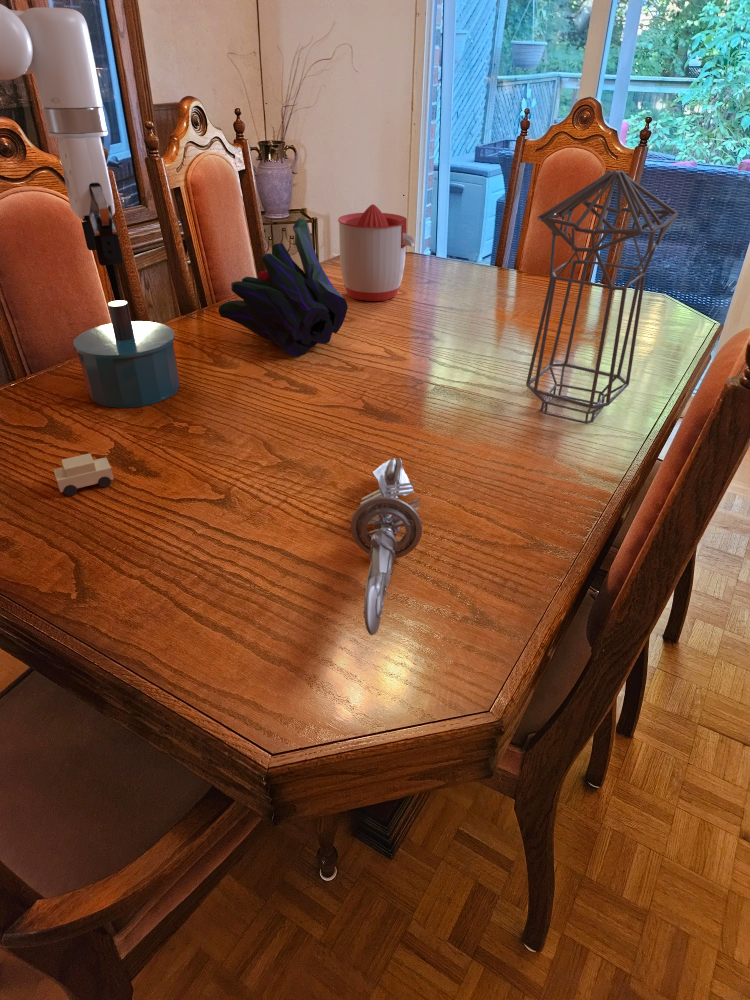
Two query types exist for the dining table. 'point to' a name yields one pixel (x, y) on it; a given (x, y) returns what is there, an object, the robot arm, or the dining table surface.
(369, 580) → the spaceship
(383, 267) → the citrus juicer
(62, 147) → the robot arm
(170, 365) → the pot
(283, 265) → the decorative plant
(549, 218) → the geometric lantern
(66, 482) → the toy car
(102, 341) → the pot lid
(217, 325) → the dining table surface
